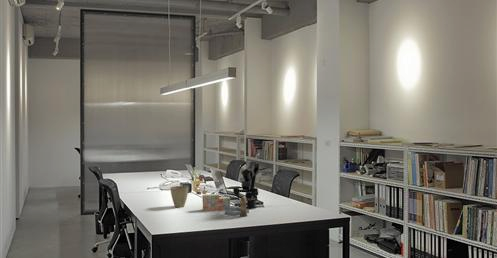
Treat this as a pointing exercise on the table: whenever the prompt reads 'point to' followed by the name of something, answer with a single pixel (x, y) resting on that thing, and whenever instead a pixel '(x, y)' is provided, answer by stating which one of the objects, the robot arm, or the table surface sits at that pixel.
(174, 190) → the plant pot
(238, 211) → the tray
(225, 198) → the colourful rectangular box
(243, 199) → the scraper handle
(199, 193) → the table surface
